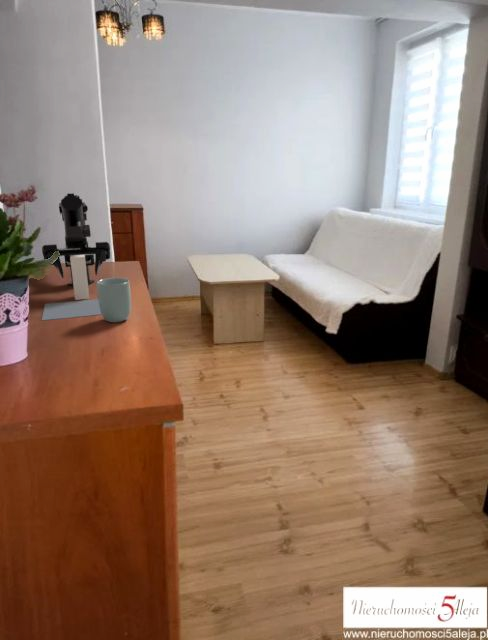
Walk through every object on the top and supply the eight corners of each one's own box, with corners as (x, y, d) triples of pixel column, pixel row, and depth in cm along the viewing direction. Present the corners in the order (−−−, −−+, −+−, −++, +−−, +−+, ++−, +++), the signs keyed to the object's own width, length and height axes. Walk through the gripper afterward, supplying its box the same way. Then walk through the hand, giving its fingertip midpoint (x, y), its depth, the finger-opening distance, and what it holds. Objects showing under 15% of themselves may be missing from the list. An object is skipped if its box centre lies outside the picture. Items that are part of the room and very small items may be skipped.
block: (75, 296, 137) (70, 255, 133) (89, 295, 138) (84, 254, 134) (75, 299, 133) (70, 257, 130) (89, 298, 135) (84, 256, 131)
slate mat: (45, 304, 129) (45, 303, 129) (118, 298, 135) (118, 297, 135) (41, 321, 115) (41, 320, 115) (123, 313, 121) (123, 312, 121)
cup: (102, 326, 110) (97, 286, 107) (99, 317, 117) (95, 279, 114) (134, 322, 113) (131, 283, 110) (129, 314, 120) (126, 276, 117)
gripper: (37, 216, 129) (40, 261, 123) (106, 214, 135) (112, 257, 129) (43, 240, 139) (46, 284, 132) (107, 237, 145) (113, 279, 138)
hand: (79, 275), depth 133 cm, fingers open, 9 cm apart
